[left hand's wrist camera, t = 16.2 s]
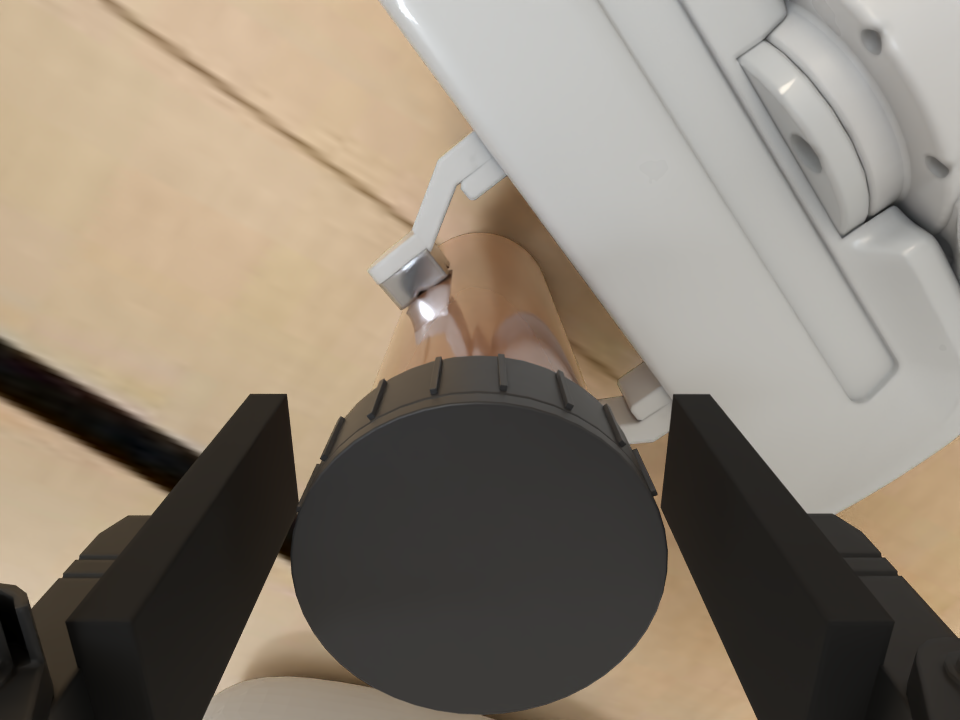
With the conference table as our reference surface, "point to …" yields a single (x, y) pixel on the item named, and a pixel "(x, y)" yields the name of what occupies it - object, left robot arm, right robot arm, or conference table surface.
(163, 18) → the conference table surface
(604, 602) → the lid
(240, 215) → the conference table surface
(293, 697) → the projector
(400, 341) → the jar
